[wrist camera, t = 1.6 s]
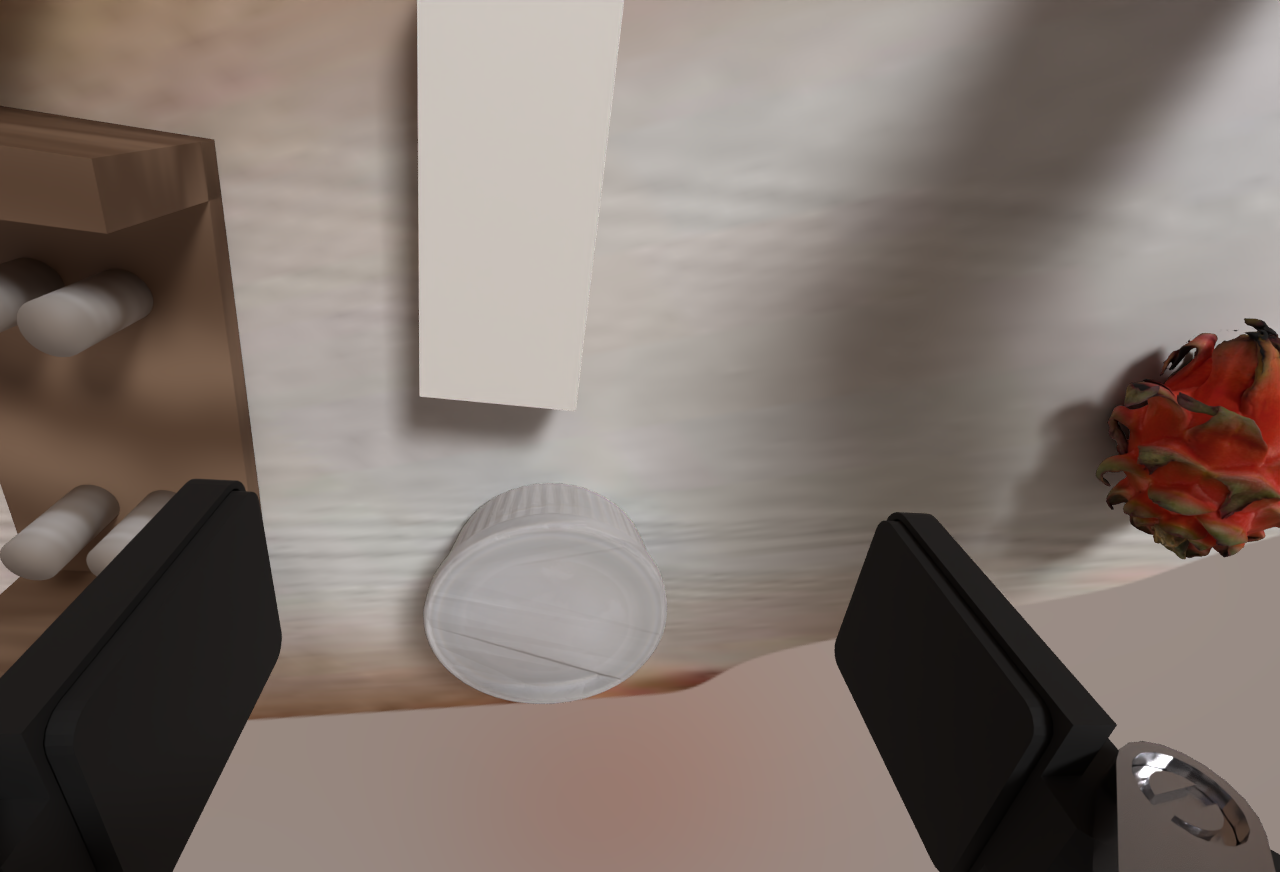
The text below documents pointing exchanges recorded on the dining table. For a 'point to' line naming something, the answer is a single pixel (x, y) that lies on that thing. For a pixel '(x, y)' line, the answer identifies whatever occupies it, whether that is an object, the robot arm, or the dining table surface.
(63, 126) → the peg frame
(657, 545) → the dining table surface
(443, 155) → the shelf board
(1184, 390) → the dragon fruit
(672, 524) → the dining table surface
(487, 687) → the ramekin
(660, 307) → the dining table surface
